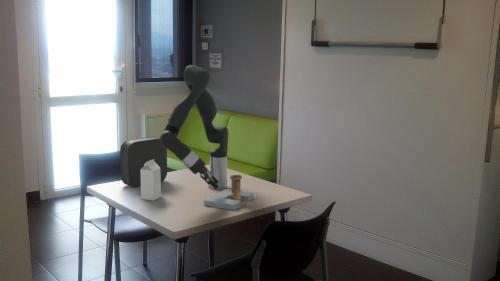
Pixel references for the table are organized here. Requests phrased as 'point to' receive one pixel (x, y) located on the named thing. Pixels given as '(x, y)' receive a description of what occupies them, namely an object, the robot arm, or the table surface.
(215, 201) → the notched board
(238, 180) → the bobbin
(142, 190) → the milk carton
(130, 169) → the speaker
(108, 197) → the table surface
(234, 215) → the table surface
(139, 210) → the table surface
